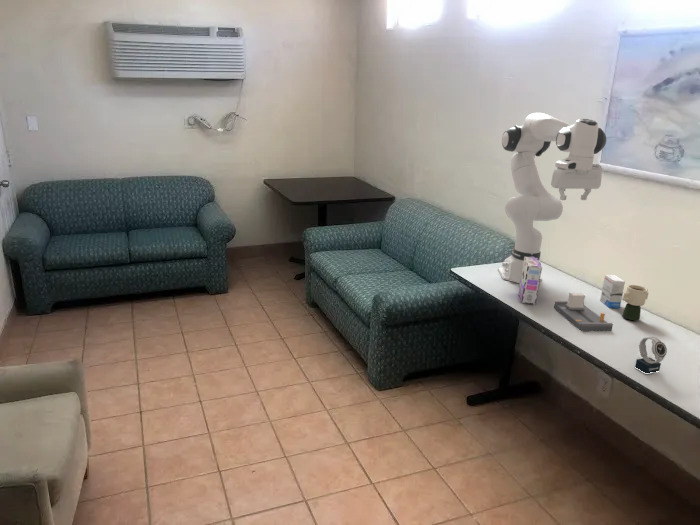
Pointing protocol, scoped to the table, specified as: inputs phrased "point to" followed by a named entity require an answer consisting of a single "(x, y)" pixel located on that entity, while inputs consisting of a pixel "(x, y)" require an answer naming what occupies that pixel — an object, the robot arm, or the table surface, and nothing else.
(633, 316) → the character mug
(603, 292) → the ink box
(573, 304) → the fader tab
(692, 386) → the table surface
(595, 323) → the fader console
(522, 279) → the candy box
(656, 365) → the watch
